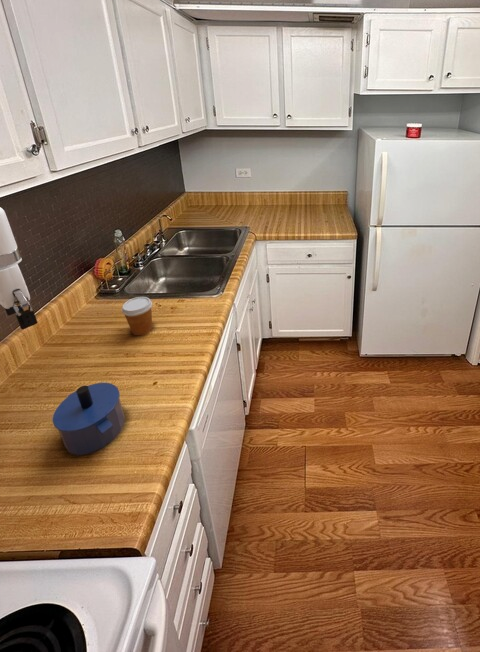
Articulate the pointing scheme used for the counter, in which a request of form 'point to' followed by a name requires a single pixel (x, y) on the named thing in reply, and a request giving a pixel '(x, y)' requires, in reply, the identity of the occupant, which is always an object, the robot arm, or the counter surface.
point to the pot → (95, 433)
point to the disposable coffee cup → (138, 315)
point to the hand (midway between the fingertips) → (22, 319)
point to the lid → (86, 407)
